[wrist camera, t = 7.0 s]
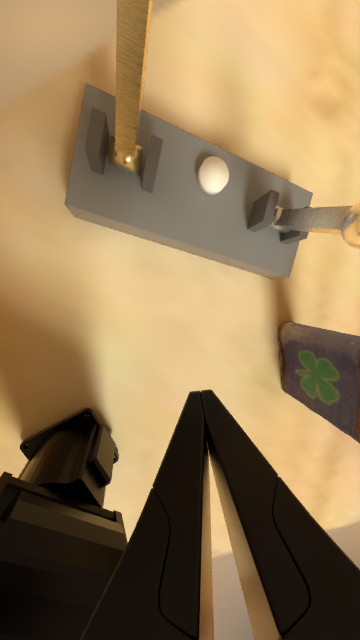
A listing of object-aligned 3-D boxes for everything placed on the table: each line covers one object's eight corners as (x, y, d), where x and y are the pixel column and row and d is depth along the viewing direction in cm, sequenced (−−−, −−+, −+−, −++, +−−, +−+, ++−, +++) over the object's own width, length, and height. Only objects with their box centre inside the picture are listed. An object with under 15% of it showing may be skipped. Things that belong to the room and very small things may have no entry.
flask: (276, 323, 22) (398, 351, 12) (297, 318, 23) (430, 341, 13) (280, 395, 24) (390, 473, 14) (299, 389, 25) (419, 459, 15)
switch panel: (74, 217, 16) (52, 188, 12) (93, 115, 16) (77, 42, 11) (271, 278, 21) (308, 275, 17) (292, 204, 21) (336, 180, 16)
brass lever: (102, 172, 13) (80, -293, 4) (110, 148, 14) (108, -278, 5) (140, 187, 14) (193, -186, 5) (146, 163, 15) (200, -190, 6)
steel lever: (255, 230, 18) (363, 244, 9) (269, 198, 17) (408, 177, 8) (279, 239, 18) (400, 260, 9) (293, 208, 17) (446, 200, 8)
